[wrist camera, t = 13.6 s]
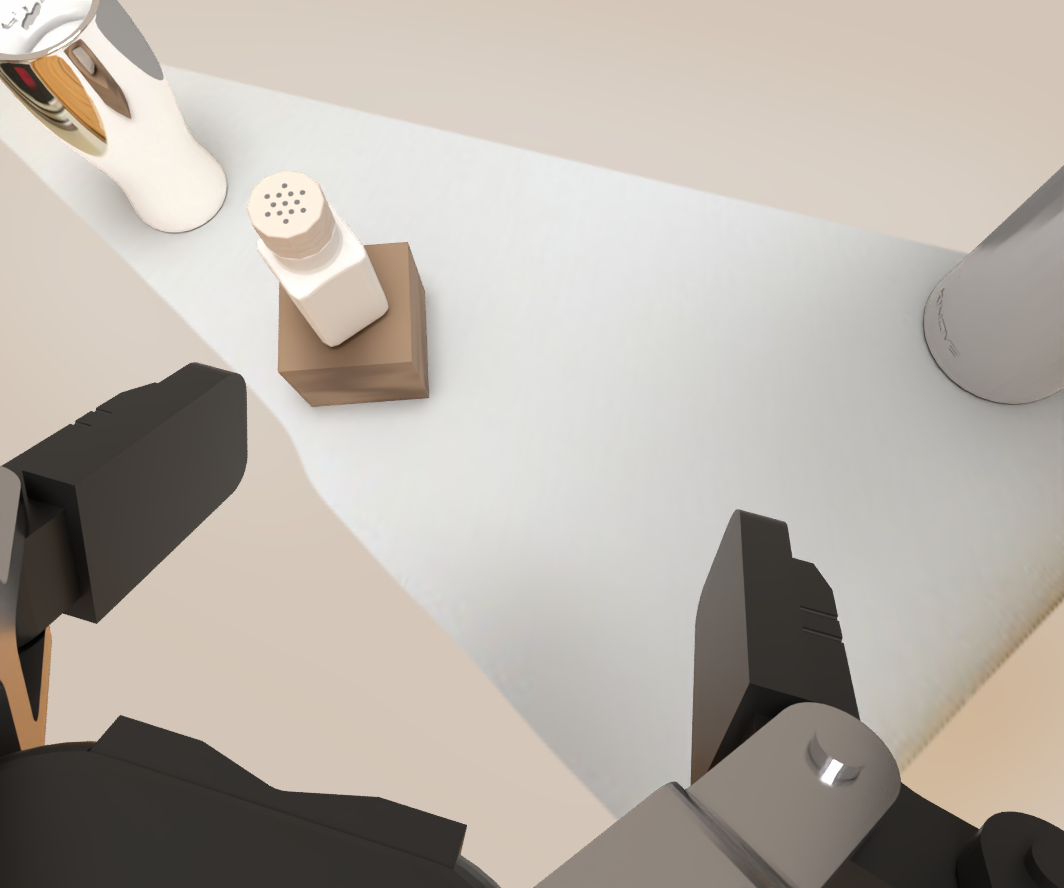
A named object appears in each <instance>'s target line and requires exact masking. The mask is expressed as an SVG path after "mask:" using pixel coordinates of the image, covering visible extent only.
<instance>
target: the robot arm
mask: <svg viewBox="0 0 1064 888" xmlns="http://www.w3.org/2000/svg"><path fill="white" fill-rule="evenodd" d="M924 330H925V338H926V340H927V343H928V346H929V349H930V352H931V354H932V355H933V357H934V359H935V360H936V362H937V364H938V365H939V367H940V368H941V369H942V370H943V371H944V372H945V373H946V374H947V375H948V377H949V378H950V379H952V380H953V381H954V382H955V383H957V384H958V385H959V386H961V387H962V388H963V389H965V390H967V391H969V392H971V393H973V394H974V395H976V396H978V397H981V398H984V399H987V400H991V401H994V402H999V403H1008V404H1020V403H1030V402H1034V401H1037V400H1040V399H1043V398H1046V397H1048V396H1050V395H1052V394H1054V393H1056V392H1058V391H1060V390H1062V389H1064V166H1063V167H1061V169H1060V170H1058V171H1057V172H1056V173H1055V174H1054V175H1053V176H1052V177H1051V178H1050V179H1049V180H1048V181H1047V182H1046V183H1044V184H1043V185H1042V186H1041V187H1040V188H1039V189H1038V190H1037V191H1036V192H1035V193H1034V194H1033V195H1032V196H1031V197H1030V198H1028V199H1027V200H1026V201H1025V202H1024V203H1023V204H1022V205H1021V206H1020V207H1019V208H1018V209H1017V210H1016V211H1015V212H1014V213H1012V214H1011V215H1010V216H1009V217H1008V218H1007V219H1006V220H1005V221H1004V222H1003V223H1002V224H1001V225H1000V226H999V227H998V228H996V229H995V230H994V231H993V232H992V233H991V234H990V235H989V236H988V237H987V238H986V239H985V240H984V241H983V242H982V243H980V244H979V245H978V246H977V247H976V248H975V249H974V250H973V251H972V252H971V253H970V254H969V255H968V256H967V257H966V258H964V259H963V260H962V261H961V262H960V263H959V264H958V265H957V266H956V267H955V268H954V269H953V270H952V271H951V272H950V273H948V274H947V275H946V276H945V277H944V278H943V279H942V280H941V281H940V282H939V283H938V284H937V286H936V287H935V288H934V290H933V291H932V293H931V294H930V297H929V299H928V302H927V304H926V307H925V314H924ZM246 464H247V392H246V384H245V381H244V378H243V377H242V376H241V375H240V374H238V373H234V372H230V371H226V370H223V369H219V368H215V367H212V366H208V365H204V364H200V363H195V362H194V363H190V364H188V365H186V366H185V367H183V368H182V369H180V370H178V371H177V372H175V373H174V374H172V375H171V376H169V377H167V378H166V379H164V380H163V381H161V382H159V383H152V384H148V385H145V386H142V387H138V388H135V389H132V390H128V391H126V392H122V393H120V394H118V395H117V396H115V397H113V398H112V399H110V400H108V401H107V402H105V403H103V404H102V405H100V406H99V407H97V408H96V411H95V412H92V411H90V412H89V413H87V414H86V415H84V416H82V417H81V418H79V419H77V420H76V422H75V424H74V425H72V424H69V425H68V426H66V427H64V428H63V429H61V430H60V431H58V432H56V433H55V434H53V435H51V436H50V437H48V438H46V439H45V440H43V441H41V442H40V443H38V444H37V445H35V446H33V447H32V448H30V449H28V450H27V451H25V452H24V453H22V454H20V455H19V456H17V457H15V458H14V459H12V460H10V461H9V462H7V463H6V464H4V465H2V466H0V888H501V887H500V886H499V885H498V884H497V883H496V882H495V881H494V880H493V879H492V878H490V877H489V876H488V875H487V874H485V873H484V872H483V871H482V870H481V869H480V868H479V867H477V866H476V865H474V864H473V863H472V862H470V861H469V860H467V859H466V858H464V857H463V856H461V855H460V854H461V849H462V845H463V841H464V836H465V832H466V827H467V825H465V824H462V823H459V822H456V821H453V820H449V819H446V818H443V817H440V816H436V815H433V814H430V813H427V812H424V811H421V810H418V809H415V808H411V807H408V806H405V805H402V804H398V803H396V802H392V801H389V800H386V799H383V798H380V797H368V796H367V797H366V796H352V795H336V794H320V793H303V792H288V791H281V790H278V789H275V788H273V787H271V786H269V785H268V784H266V783H265V782H263V781H262V780H260V779H259V778H257V777H256V776H254V775H253V774H251V773H249V772H248V771H247V770H245V769H244V768H242V767H241V766H239V765H238V764H236V763H235V762H233V761H232V760H230V759H228V758H227V757H226V756H224V755H223V754H221V753H220V752H218V751H216V750H215V749H214V748H212V747H211V746H209V745H208V744H206V743H204V742H203V741H200V740H197V739H194V738H191V737H188V736H184V735H181V734H178V733H175V732H172V731H169V730H166V729H163V728H159V727H156V726H153V725H150V724H147V723H144V722H140V721H137V720H134V719H131V718H128V717H124V716H121V715H120V716H119V717H118V718H117V719H116V720H115V722H114V723H113V724H112V725H111V726H110V727H109V728H108V730H107V731H106V732H105V733H104V734H103V735H102V737H101V738H100V739H99V740H98V741H97V742H93V741H89V742H88V741H87V742H67V743H59V744H52V745H45V732H46V718H47V704H48V690H49V676H50V662H51V661H50V660H51V647H52V636H51V631H50V626H49V625H50V624H51V623H52V622H53V621H54V620H55V619H57V618H58V617H59V616H60V615H61V614H62V613H63V614H67V615H70V616H73V617H76V618H80V619H83V620H86V621H89V622H93V623H96V624H97V623H98V622H99V621H100V620H101V619H102V618H103V617H104V616H105V615H106V614H107V613H108V612H110V611H111V610H112V609H113V608H114V607H115V606H116V605H117V604H118V603H119V602H120V601H121V600H122V599H123V598H124V597H125V596H126V595H127V594H128V593H129V592H130V591H131V590H132V589H133V588H134V587H136V585H138V584H139V583H140V582H141V581H142V580H143V579H144V578H145V577H146V576H147V575H148V574H149V573H150V572H151V571H152V570H153V569H154V568H155V567H156V566H157V565H158V564H159V563H160V562H162V560H164V559H165V558H166V557H167V556H168V555H169V554H170V553H171V552H172V551H173V550H174V549H175V548H176V547H177V546H178V545H179V544H180V543H181V542H182V541H183V540H184V539H185V538H186V537H187V536H189V535H190V534H191V532H193V530H195V529H196V528H197V527H198V526H199V525H200V524H201V523H202V522H203V521H204V520H205V519H206V518H207V517H208V516H209V515H210V514H211V513H212V512H213V511H214V510H215V509H217V508H218V506H220V505H221V504H222V502H224V501H225V500H226V499H227V498H228V497H229V496H230V495H231V494H232V493H233V492H234V491H235V489H236V488H237V486H238V485H239V483H240V481H241V479H242V477H243V475H244V472H245V468H246ZM837 617H838V614H837V610H836V605H835V600H834V596H833V591H832V589H831V587H830V586H829V585H828V583H827V582H826V580H825V579H824V578H823V576H822V575H821V573H820V572H819V571H818V569H817V568H816V566H815V565H814V564H813V563H809V562H806V561H802V560H798V559H795V558H792V553H791V546H790V540H789V533H788V527H787V524H786V522H783V521H780V520H776V519H772V518H769V517H765V516H761V515H757V514H754V513H750V512H746V511H743V510H739V509H737V510H735V512H734V513H733V515H732V517H731V519H730V521H729V523H728V526H727V528H726V531H725V533H724V536H723V538H722V541H721V544H720V546H719V549H718V551H717V554H716V556H715V559H714V561H713V564H712V566H711V569H710V572H709V574H708V577H707V579H706V582H705V584H704V587H703V590H702V593H701V597H700V601H699V605H698V610H697V616H696V624H695V655H694V689H693V722H692V756H691V786H690V787H689V788H687V789H685V790H684V789H683V788H682V787H681V786H680V785H679V784H678V783H677V782H670V783H668V784H666V785H664V786H662V787H661V788H659V789H658V790H656V791H655V792H654V793H652V794H651V795H650V796H649V797H647V798H646V799H645V800H644V801H642V802H641V803H640V804H639V805H637V806H636V807H635V808H634V809H632V810H631V811H630V812H628V813H627V814H626V815H625V816H623V817H622V818H621V819H620V820H618V821H617V822H616V823H615V824H613V825H612V826H611V827H610V828H608V829H607V830H606V831H605V832H603V833H602V834H601V835H599V836H598V837H597V838H596V839H594V840H593V841H592V842H591V843H589V844H588V845H587V846H586V847H584V848H583V849H582V850H580V851H579V852H578V853H577V854H575V855H574V856H573V857H572V858H570V859H569V860H568V861H566V862H565V863H564V864H563V865H561V866H560V867H559V868H558V869H556V870H555V871H554V872H553V873H551V874H550V875H549V876H548V877H546V878H545V879H544V880H543V881H541V882H540V883H539V884H537V885H536V886H535V887H534V888H1064V831H1063V830H1061V829H1060V828H1058V827H1056V826H1054V825H1052V824H1051V823H1049V822H1047V821H1045V820H1042V819H1040V818H1037V817H1035V816H1032V815H1028V814H1024V813H1018V812H1001V813H998V814H995V815H993V816H991V817H990V818H988V820H987V821H986V822H985V823H984V824H983V826H982V827H981V828H980V829H978V828H976V827H974V826H972V825H971V824H969V823H967V822H965V821H963V820H962V819H960V818H958V817H956V816H955V815H953V814H951V813H949V812H948V811H946V810H944V809H942V808H940V807H939V806H937V805H935V804H933V803H932V802H930V801H928V800H926V799H925V798H923V797H921V796H920V795H918V794H917V793H915V792H914V791H912V790H911V789H910V788H908V787H907V786H905V785H904V784H903V783H902V782H901V778H900V773H899V769H898V766H897V764H896V761H895V759H894V757H893V756H892V754H891V752H890V750H889V749H888V748H887V746H886V745H885V744H884V742H883V741H882V740H881V739H880V738H879V737H878V736H877V735H876V734H875V733H874V732H873V731H872V730H871V729H870V728H869V727H867V726H866V725H865V724H864V723H862V722H861V721H860V718H859V713H858V708H857V704H856V699H855V694H854V689H853V685H852V680H851V675H850V671H849V666H848V661H847V657H846V652H845V647H844V643H841V641H842V633H841V628H840V624H839V621H837Z"/></svg>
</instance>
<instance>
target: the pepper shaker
mask: <svg viewBox="0 0 1064 888" xmlns="http://www.w3.org/2000/svg"><path fill="white" fill-rule="evenodd" d="M247 211H248V214H249V217H250V220H251V223H252V226H253V227H254V229H255V230H256V232H257V233H258V234H259V236H260V238H259V240H258V242H257V250H258V252H259V254H260V255H261V256H262V258H263V259H264V261H265V262H266V264H267V265H268V266H269V268H270V269H271V271H272V272H273V274H274V275H275V276H276V278H277V279H278V281H279V282H280V284H281V285H282V286H283V288H284V289H285V291H286V292H287V294H288V295H289V297H290V298H291V299H292V301H293V302H294V304H295V305H296V306H297V308H298V309H299V310H300V312H301V313H302V315H303V316H304V317H305V319H306V320H307V321H308V323H309V324H310V325H311V327H312V328H313V330H314V331H315V332H316V334H317V335H318V336H319V338H320V339H321V340H322V342H323V343H325V344H327V345H329V346H331V347H333V346H337V345H339V344H341V343H342V342H344V341H345V340H347V339H348V338H350V337H351V336H353V335H354V334H356V333H357V332H359V331H360V330H362V329H363V328H365V327H366V326H368V325H369V324H371V323H372V322H374V321H375V320H377V319H378V318H380V317H381V316H383V315H384V314H385V312H386V311H387V310H388V303H387V299H386V297H385V294H384V292H383V290H382V287H381V285H380V283H379V280H378V278H377V276H376V273H375V271H374V269H373V266H372V264H371V262H370V259H369V257H368V255H367V252H366V250H365V248H364V246H363V245H362V243H361V242H360V241H359V239H358V238H357V237H356V235H355V234H354V233H353V231H352V230H351V229H350V227H349V226H348V225H347V223H346V222H345V221H344V219H343V218H342V217H341V216H340V214H339V213H338V212H337V211H336V210H335V209H334V207H333V206H332V205H331V204H330V203H327V201H326V198H325V196H324V194H323V192H322V190H321V188H320V186H319V184H318V183H317V182H315V181H314V180H312V179H311V178H310V177H308V176H307V175H306V174H304V173H298V172H290V171H282V172H279V173H276V174H273V175H271V176H268V177H265V178H264V179H263V180H262V181H261V182H260V183H259V184H258V185H257V186H256V187H255V188H254V189H253V190H252V192H251V195H250V199H249V202H248V206H247Z"/></svg>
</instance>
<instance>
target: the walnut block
mask: <svg viewBox="0 0 1064 888" xmlns="http://www.w3.org/2000/svg"><path fill="white" fill-rule="evenodd" d="M363 246H364V248H365V250H366V252H367V255H368V257H369V259H370V262H371V264H372V266H373V269H374V271H375V273H376V276H377V278H378V280H379V283H380V285H381V287H382V290H383V292H384V294H385V297H386V299H387V303H388V310H387V311H386V312H385V314H384V315H383V316H381V317H380V318H378V319H377V320H375V321H374V322H372V323H371V324H369V325H368V326H366V327H365V328H363V329H362V330H360V331H359V332H357V333H356V334H354V335H353V336H351V337H350V338H348V339H347V340H345V341H344V342H342V343H341V344H339V345H337V346H333V347H331V346H329V345H327V344H325V343H323V342H322V340H321V339H320V338H319V336H318V335H317V334H316V332H315V331H314V330H313V328H312V327H311V325H310V324H309V323H308V321H307V320H306V319H305V317H304V316H303V315H302V313H301V312H300V310H299V309H298V308H297V306H296V305H295V304H294V302H293V301H292V299H291V298H290V297H289V295H288V294H287V292H286V291H285V289H284V288H283V286H282V285H281V284H280V282H279V340H278V372H279V374H280V375H281V376H282V377H283V378H284V379H285V380H286V381H287V382H288V383H289V384H290V385H291V386H292V387H293V388H294V389H295V390H296V391H297V392H298V393H299V394H300V395H301V396H302V397H303V398H304V399H305V400H306V401H307V402H308V403H309V404H310V405H311V407H316V406H329V405H342V404H355V403H368V402H381V401H394V400H407V399H421V398H429V387H428V362H427V337H426V311H425V291H424V288H423V285H422V282H421V279H420V276H419V273H418V270H417V267H416V264H415V261H414V259H413V256H412V253H411V250H410V247H409V244H408V242H402V243H389V244H376V245H363Z"/></svg>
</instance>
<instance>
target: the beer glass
mask: <svg viewBox="0 0 1064 888" xmlns="http://www.w3.org/2000/svg"><path fill="white" fill-rule="evenodd" d="M0 81H1V82H2V83H3V84H4V86H5V87H6V88H7V89H8V90H9V91H10V92H11V94H12V95H13V96H14V97H15V98H16V99H17V100H18V101H19V102H20V104H21V105H22V106H23V107H24V108H25V109H26V110H27V111H28V112H29V113H30V114H31V115H32V116H33V117H34V118H35V119H36V120H37V121H38V122H39V123H40V124H41V125H42V126H43V127H45V128H46V129H47V130H48V131H49V132H51V133H52V134H53V135H54V136H56V137H57V138H58V139H59V140H60V141H62V142H63V143H64V144H65V145H67V146H68V147H69V148H71V149H72V150H74V151H75V152H76V153H78V154H79V155H81V156H82V157H83V158H85V159H86V160H88V161H89V162H90V163H92V164H93V165H95V166H96V167H97V168H99V169H100V170H102V171H103V172H104V173H106V174H107V175H108V176H110V177H111V178H112V179H113V180H114V181H115V182H116V183H117V184H118V185H119V186H120V187H121V188H122V190H123V191H124V193H125V194H126V196H127V198H128V199H129V201H130V203H131V205H132V207H133V208H134V210H135V212H136V213H137V214H138V216H139V217H140V218H141V219H142V220H143V221H144V222H145V223H146V224H148V225H149V226H151V227H153V228H155V229H157V230H160V231H164V232H171V233H177V232H185V231H189V230H192V229H195V228H197V227H199V226H201V225H203V224H204V223H206V222H207V221H209V220H210V219H211V218H212V217H213V216H214V215H215V214H216V213H217V212H218V210H219V209H220V207H221V206H222V204H223V202H224V199H225V196H226V191H227V182H226V177H225V174H224V171H223V169H222V167H221V166H220V165H219V163H218V162H217V161H216V160H215V159H214V158H213V157H212V156H211V155H210V154H209V153H208V152H207V151H206V150H205V149H204V148H203V147H202V146H200V145H199V144H198V143H197V141H196V140H195V139H194V138H193V136H192V135H191V133H190V132H189V130H188V128H187V126H186V124H185V121H184V119H183V117H182V115H181V112H180V110H179V107H178V105H177V102H176V100H175V97H174V95H173V92H172V90H171V88H170V85H169V83H168V80H167V78H166V76H165V74H164V72H163V70H162V68H161V66H160V64H159V62H158V60H157V58H156V56H155V54H154V53H153V51H152V49H151V48H150V46H149V44H148V43H147V41H146V40H145V38H144V36H143V35H142V33H141V32H140V31H139V29H138V28H137V26H136V25H135V23H134V22H133V21H132V19H131V18H130V16H129V15H128V14H127V12H126V11H125V10H124V8H123V7H122V6H121V4H120V3H119V2H118V1H117V0H0Z"/></svg>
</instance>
